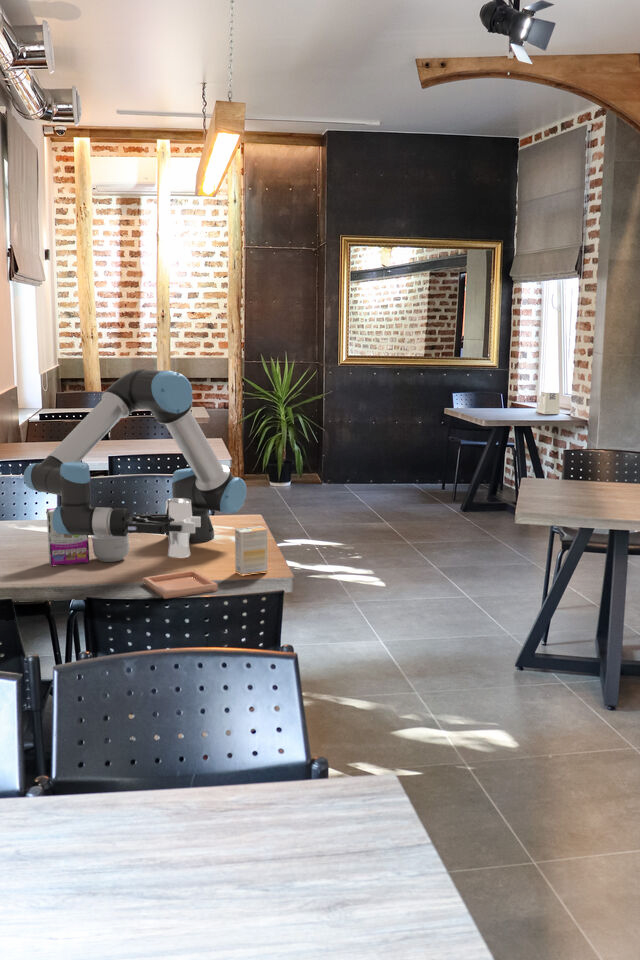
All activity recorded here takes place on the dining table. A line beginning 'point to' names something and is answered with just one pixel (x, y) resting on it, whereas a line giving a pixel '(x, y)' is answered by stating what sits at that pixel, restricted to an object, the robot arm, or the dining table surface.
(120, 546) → the teacup
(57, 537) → the candy bar box
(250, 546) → the supplement box
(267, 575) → the dining table surface
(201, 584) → the tray
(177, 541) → the steel tumbler
